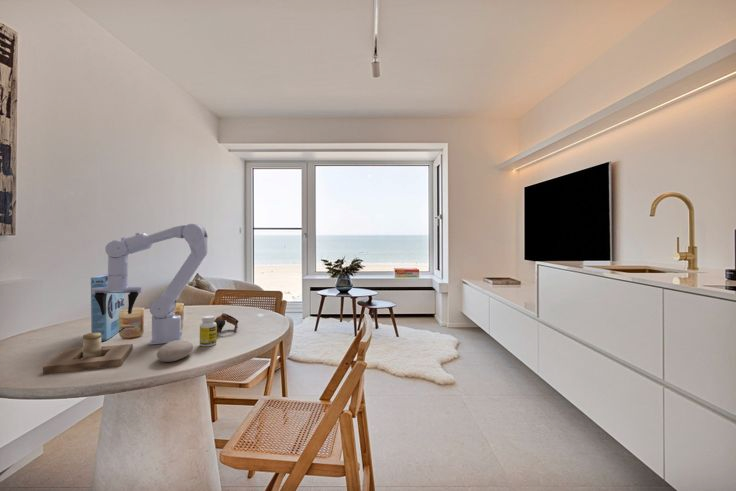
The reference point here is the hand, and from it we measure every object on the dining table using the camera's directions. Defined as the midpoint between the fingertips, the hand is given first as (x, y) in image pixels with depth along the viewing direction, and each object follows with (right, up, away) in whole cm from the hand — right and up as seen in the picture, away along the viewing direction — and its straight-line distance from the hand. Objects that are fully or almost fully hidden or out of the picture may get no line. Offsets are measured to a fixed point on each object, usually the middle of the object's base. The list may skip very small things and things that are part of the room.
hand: (116, 313), depth 128 cm
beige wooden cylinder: (+4, -11, -17) cm, 21 cm away
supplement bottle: (+32, -11, 0) cm, 34 cm away
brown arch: (+30, -11, +17) cm, 36 cm away
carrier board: (+4, -11, -17) cm, 21 cm away
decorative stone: (+28, -12, -14) cm, 33 cm away
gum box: (-11, -10, +12) cm, 19 cm away
